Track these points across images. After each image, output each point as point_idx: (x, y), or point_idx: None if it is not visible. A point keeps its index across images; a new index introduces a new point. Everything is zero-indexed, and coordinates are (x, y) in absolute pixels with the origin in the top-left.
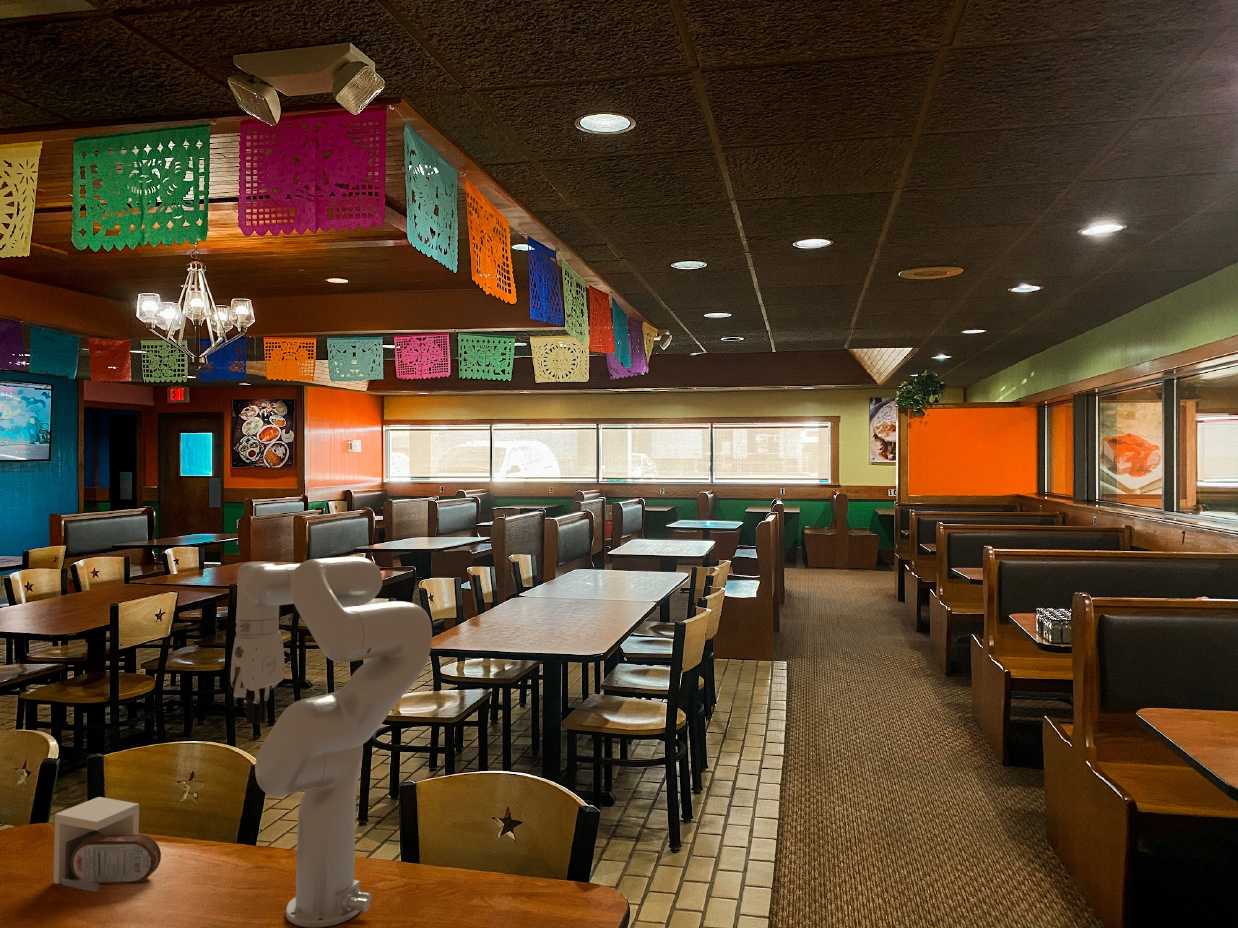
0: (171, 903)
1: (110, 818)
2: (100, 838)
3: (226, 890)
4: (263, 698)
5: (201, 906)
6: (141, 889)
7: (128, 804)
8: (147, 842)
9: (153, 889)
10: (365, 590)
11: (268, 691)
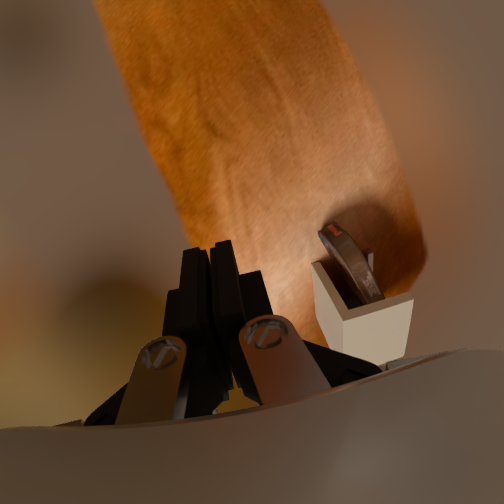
0: (353, 141)
1: (391, 303)
2: (375, 299)
3: (293, 105)
4: (188, 354)
5: (341, 97)
6: (344, 210)
7: (350, 329)
8: (349, 249)
9: (338, 197)
10: None
11: (133, 394)
